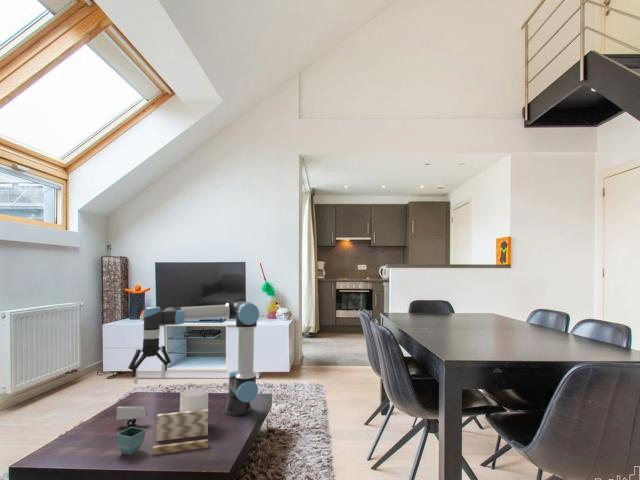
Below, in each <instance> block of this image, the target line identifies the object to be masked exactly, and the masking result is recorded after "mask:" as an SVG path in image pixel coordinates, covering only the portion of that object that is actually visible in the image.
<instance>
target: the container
mask: <svg viewBox="0 0 640 480" xmlns="http://www.w3.org/2000/svg"><path fill="white" fill-rule="evenodd" d="M179 393H180V395H179V412H185V411H195V410H204V409H208V410H209V389H207V388H204V387H193V388H192V387H191V388H187V389H183V390H182V391H181V392H179Z"/></svg>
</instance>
